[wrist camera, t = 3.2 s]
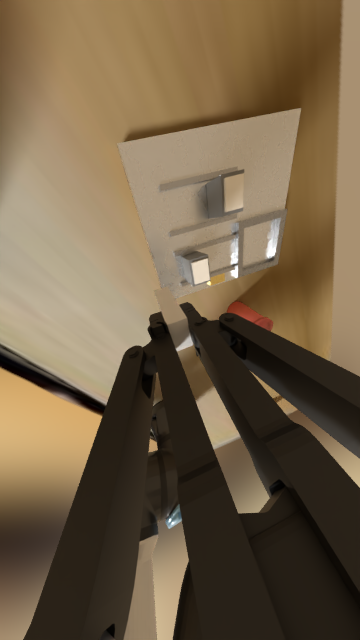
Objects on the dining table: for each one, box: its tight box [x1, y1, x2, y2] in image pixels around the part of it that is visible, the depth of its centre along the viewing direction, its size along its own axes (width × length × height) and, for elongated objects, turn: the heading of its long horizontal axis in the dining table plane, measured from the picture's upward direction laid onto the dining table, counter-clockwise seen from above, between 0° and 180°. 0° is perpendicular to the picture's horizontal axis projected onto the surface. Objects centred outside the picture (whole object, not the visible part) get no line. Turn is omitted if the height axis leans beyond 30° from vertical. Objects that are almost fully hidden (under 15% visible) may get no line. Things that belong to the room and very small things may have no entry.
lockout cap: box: [227, 301, 273, 331], centre depth 32 cm, size 5×5×9 cm
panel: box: [117, 108, 301, 299], centre depth 23 cm, size 24×20×3 cm
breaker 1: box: [181, 251, 211, 287], centre depth 23 cm, size 3×4×4 cm
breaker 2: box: [206, 169, 244, 219], centre depth 19 cm, size 3×4×4 cm
